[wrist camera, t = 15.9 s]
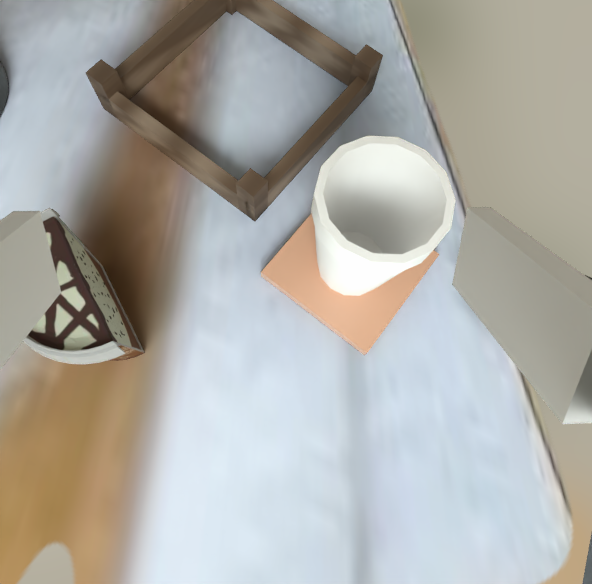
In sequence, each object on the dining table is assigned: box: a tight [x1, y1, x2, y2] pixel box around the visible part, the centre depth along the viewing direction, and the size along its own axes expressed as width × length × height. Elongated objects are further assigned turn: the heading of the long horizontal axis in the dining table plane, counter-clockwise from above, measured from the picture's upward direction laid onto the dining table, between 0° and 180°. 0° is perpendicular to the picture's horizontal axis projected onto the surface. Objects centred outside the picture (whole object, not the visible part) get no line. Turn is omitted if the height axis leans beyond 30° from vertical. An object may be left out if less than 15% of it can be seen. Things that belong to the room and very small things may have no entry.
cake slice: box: [23, 208, 145, 364], centre depth 36 cm, size 12×6×10 cm, turn 30°
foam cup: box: [311, 136, 456, 296], centre depth 37 cm, size 10×9×13 cm
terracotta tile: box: [261, 213, 439, 355], centre depth 44 cm, size 12×12×1 cm
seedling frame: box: [86, 0, 383, 221], centre depth 46 cm, size 20×20×5 cm
